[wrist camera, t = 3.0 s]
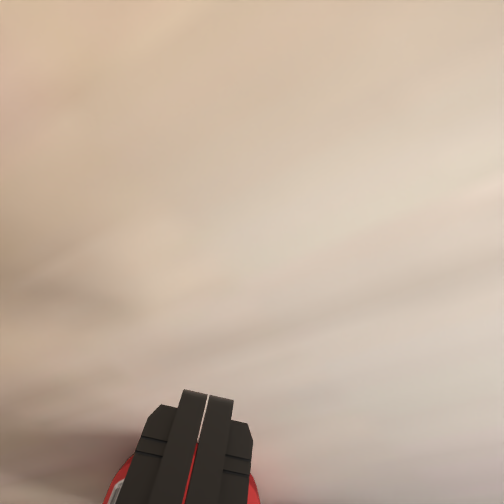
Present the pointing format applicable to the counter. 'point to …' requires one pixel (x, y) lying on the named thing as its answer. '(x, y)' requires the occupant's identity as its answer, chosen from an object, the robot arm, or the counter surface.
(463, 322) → the counter surface
